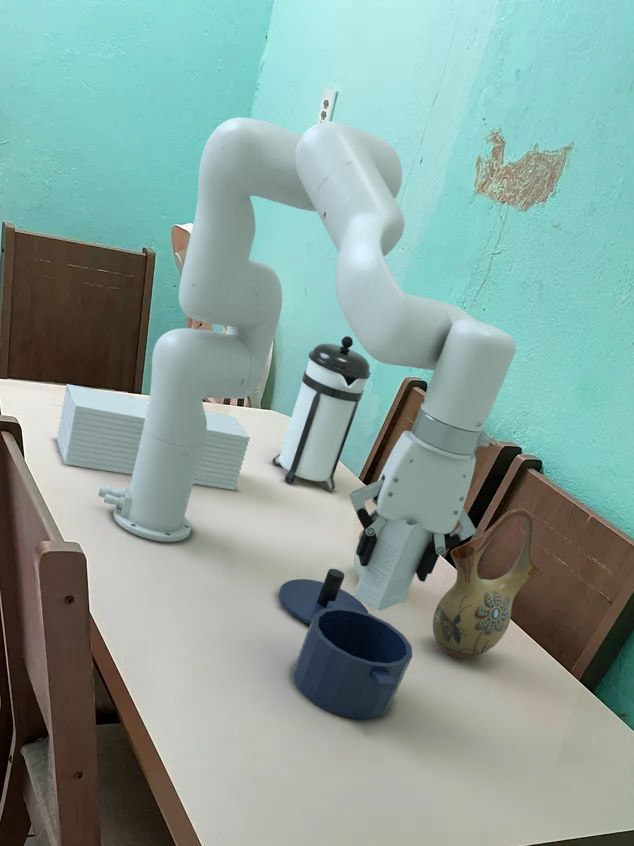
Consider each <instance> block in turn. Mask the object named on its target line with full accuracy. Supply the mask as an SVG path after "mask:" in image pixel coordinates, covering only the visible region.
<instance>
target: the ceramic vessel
mask: <svg viewBox="0 0 634 846" xmlns="http://www.w3.org/2000/svg"><path fill="white" fill-rule="evenodd" d="M517 517H519V518H523V519H524V520H525V522H526V523H525V524H526V525H525V533H524V539H523V542H522V546H521V549H520V552H519V553H518V556H517V559H516V561H515V563H514V564H513V565H512V567H511V568H510V570H509V571H507V573H505V574H504V575H502V576H500V577H498V578H495V579H486V578H485V579H483V578H480V577H479V574H478V565H479V562H480V559H481V558H482V555H483V554H484V553H485V550H487V548H488V546H489V545H490V544H491V542H492V540H493V539H494V538H495V537H496V535H497V534H498V533H499V531H500V530H501V529H502V528H503V526H505V525H506V523H507V522H509V520H511V519H513V518H517ZM534 529H535V520H534V517H533V515H532V513H531V512H530V511H528V510H525V509H524V508H515V509H511V510H509V511H507V512H505V513H503V515H501V516H500V517H499V518H498V519H497V520H496V522H494V523H493V524H492V525H491V526H490V527H489V528H488V529H486V531H484V532H482V533H481V534H480V535H478V536H477V537H475V538H473V539H471V540H470V541H468V542H466V543H463V544H462V545H460V546H455V547H454V548H453V549H451V550H450V553H449V555H450V558H451V559H452V561H453V563H454V566H455V568H456V578H455V579H456V580H455V582H454V584H453V585H452V586H451V587H450V588H449V589H448V590H447V591H446V592H445V593H444V595H443V596H442V597H441V598H440V599H439V602H438V604H437V606H436V608H435V611H434V613H433V618H432V632H433V637H434V639H435V642H436V644H437V645H438V647H439V648H440V650H442V651H443V653H445V654H447V655H449V656H451V657H454V658H456V659H465V660H466V659H472V658H475V657H478V656H481V655H483V654H485V653H486V652H488V651H490V650H491V649H493V647H495V646H496V645H497V644H498V643H499V641H501V639H502V638H503V636H505V634H506V631H507V630H508V627H509V625H510V622H511V618H512V610H513V602H514V599H515V597H516V596H517V594H518V592H519V591H520V590H521V589H522V587H523V586H524V585H525V584H527V583H528V582H530V581H532V580H533V579H535V578H536V577H538V576H541V575H542V574H544V573H545V572H544V570H543V569H542V568H541V567H540V566H539V565H537V564H536V562H534V560H533V559H532V545H533V537H534Z"/></svg>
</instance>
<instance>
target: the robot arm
mask: <svg viewBox="0 0 634 846" xmlns="http://www.w3.org/2000/svg"><path fill="white" fill-rule="evenodd" d="M402 168H403V167H402V163H401V159H400V157H399V155H398V153H397V151H396V149H395V148H394V147H393V145H392V144H390V143H389V142H388V141H387V140H386V139H383V138H381V137H379V136H377V135H375V134H371V133H370V132H367V131H364V130H361V129H359V128H356V127H353V126H352V125H350V124H346V123H343V122H339V121H333V120H331V121H328V120H327V121H322V122H319V123H316V124H314V125H312V126H310V127H309V128H308V129H307V130H306V131H304V133H303V134H300V133H297V132H295V131H292V130H290V129H287V128H285V127H283V126H279V125H277V124H274V123H271V122H269V121H265V120H261V119H258V118H253V117H252V118H251V117H234V118H230V119H227V120H225V121H223V122H222V123H221V124H219V125H218V126H217V127H216V128H215V129H214V130H213V131H212V132H211V134H210V135H209V137H208V139H207V141H206V143H205V146H204V148H203V151H202V154H201V157H200V163H199V170H198V181H197V184H198V185H197V201H196V209H195V215H194V218H193V219H194V220H193V224H192V227H191V230H190V231H191V232H190V236H189V241H188V245H187V250H186V254H185V258H184V261H183V267H182V271H181V277H180V281H179V287H178V304H179V306H180V308H181V310H182V312H183V313H184V314H185V315H186V316H187V317H189V318H190V319H192V320H194V321H198V322H201V323H207V324H211V325H219V326H224V327H226V332H218V331H213V330H205V329H197V328H188V327H187V328H186V327H184V328H183V327H182V328H175V329H171V330H169V331H167V332H165V333H163V334H162V335H161V336H160V337H159V338H158V339H157V341H156V342H155V344H154V347H153V350H152V357H151V378H150V391H149V398H148V400H149V403H148V408H147V413H146V417H145V422H144V427H143V431H142V436H141V440H140V444H139V449H138V453H137V457H136V462H135V466H134V470H133V475H132V474H131V480H130V484H128V485H127V488H122V487H121V488H120V489H118V488H115V487H112V486H108V485H106V484H100V486H99V491H98V497H101V498H104V501H103V503H104V504H109V505H115V507H114V510H113V518H114V520H115V522H116V523H117V525H119V526H120V527H121V528H123V529H124V530H126V531H127V532H129V533H131V534H133V535H135V536H138V537H141V538H143V539H147V540H151V541H156V542H164V543H173V542H181V541H183V540H185V539H187V538H188V537H189V536H190V533H191V530H192V524H191V522H190V521H189V520H188V518H187V517H186V516H185V515H186V512H187V508H188V505H189V501H190V497H191V493H192V490H193V485H194V484H193V482H194V478H195V475H196V471H197V467H198V464H199V460H200V456H201V452H202V449H203V445H204V441H205V437H206V432H207V420H206V415H205V412H204V411H205V409H204V405H203V401H204V399H210V398H213V399H229V400H230V399H231V400H232V399H233V400H237V399H244V398H247V397H249V396H250V395H252V394H253V393H254V392H255V391H256V390H257V388H258V386H259V385H260V383H261V380H262V378H263V375H264V373H265V369H266V366H267V362H268V359H269V356H270V352H271V348H272V345H273V342H274V338H275V335H276V331H277V329H278V324H279V320H280V317H281V313H282V307H283V291H282V290H283V289H282V285H281V281H280V278H279V276H278V274H277V273H276V271H275V270H274V269H273V268H272V267H271V266H270V265H267V264H266V263H264V262H261V261H258V260H254V259H250V255H251V251H252V248H253V244H254V240H255V236H256V215H255V210H254V206H253V202H252V199H251V197H258V198H261V199H265V200H269V201H271V202H274V203H278V204H281V205H285V206H289V207H292V208H295V209H300V210H303V211H307V212H308V211H309V212H316V213H317V215H318V216H319V219H320V220H321V222H322V224H323V227H324V228H325V230H326V231H327V234H328V235H329V237H330V239H331V241H332V243H333V245H334V247H335V248H336V250H337V253H338V257H337V261H336V264H335V265H336V266H335V291H336V293H335V294H336V297H337V302H338V305H339V307H340V309H341V312H342V313H343V316H344V317H345V319H346V321H347V323H348V325H349V327H350V329H351V331H352V333H353V334H354V336H355V338H356V339H357V341H358V342H359V344H360V346H361V347H362V349H364V350H365V352H366V353H368V355H369V356H370V357H371V358H373V359H374V360H376V361H377V362H379V363H382V364H385V365H391V366H400V367H408V368H415V369H422V370H428V371H433V373H432V376H431V378H430V381H429V383H428V386H427V389H426V392H425V394H424V397H423V400H422V402H421V404H420V408H419V409H418V412H417V415H416V417H415V420H414V423H413V426H412V428H411V430H404V431H402V433H401V435H400V437H398V439H397V441H396V443H395V444H394V446H393V448H392V449H391V451H390V453H389V456H388V458H387V459H386V462H385V464H384V465H383V467H382V470H381V473H380V474H379V478H378V479H377V481H374V482H372V483H369V484H367V485H365V486H362V487H360V488H358V489H355V490H353V491H351V492H350V493H349V498H350V501H351V505H352V506H353V509H354V511H355V513H356V516H357V518H358V520H359V522H360V524H361V526H362V528H363V530H364V531H363V533H362V536H361V539H360V541H359V544H358V547H357V551H356V554H357V555H359V560H360V564H361V566H364V567H365V566H367V565H368V563H369V560H370V558H371V555H372V553H373V550H374V547H375V545H376V542H377V537H376V533H377V532H378V531H379V530H380V529H381V528H382V527H383V526H384V525H385V524H386V523H387V522H388V520H389V521H396V520H397V519H398V518H401V519H405V520H408V521H412V522H416V523H419V524H422V525H423V529H424V530H426V531H429V532H433V534H432V536H431V539H430V541H429V543H428V545H427V548H426V550H425V552H424V555H423V557H422V559H421V561H420V564H419V566H418V569H417V571H416V573H415V575H416V577H417V579H418V580H419V582H423V583H425V582H426V579H427V577H428V575H431V574H432V573H433V571H434V568H435V566H436V564H437V561H438V559H439V558H440V556H441V555H444V554H445V553H446V551H447V550H449V549H451V548H453V547H456V546H458V545H459V544H460V543H461V541H465V540H466V539H468V538H470V537H471V536H474V534H476V532H477V528H476V527H475V526H474V524H473V522H472V520H471V518H470V517H469V515H468V513H467V512H466V510H465V508H464V506H465V503H466V500H467V498H468V494H469V491H470V487H471V483H472V480H473V475H474V472H475V468H476V467H475V466H476V461H477V456H476V454H475V453H476V451H477V449H478V448H485V449H487V448H488V447H489V446H490V444H491V441H492V440H491V439H492V438H491V436H489V435H486V434H485V433H484V432H485V431H484V429H485V426H486V423H487V421H488V418H489V417H490V413H491V411H492V409H493V406H494V405H495V403H496V400H497V398H498V395H499V392H500V390H501V388H502V387H503V386H502V385H503V384H504V380H505V379H506V376H507V374H508V371H509V369H510V366H511V364H512V362H513V360H514V356H515V354H516V349H517V343H516V340H515V338H514V337H513V336H512V335H511V334H509V333H508V332H507V331H504V330H502V329H500V328H499V327H496V326H493V325H490V324H488V323H485V322H482V321H479V320H477V319H475V318H474V317H472V316H471V315H470V314H468V313H467V312H466V311H465V310H463V309H461V308H460V307H458V306H457V305H455V304H452V303H449V302H446V301H441V300H437V299H433V298H429V297H426V296H425V297H424V296H419V295H415V294H410V293H405V292H404V291H403V289H402V288H401V286H400V285H399V283H398V281H397V279H396V278H395V275H394V274H393V272H392V271H391V269H390V267H389V265H388V263H387V261H386V258H385V257H386V256H387V255H388V254H389V253H391V251H392V250H393V249H394V248H396V246H397V244H398V243H399V242H400V240H401V239H402V236H403V234H404V231H405V224H406V223H405V217H404V214H403V211H402V210H401V207H400V206H399V205H398V203H397V201H396V199H397V197H398V195H399V192H400V189H401V187H402V179H403V169H402ZM368 500H371V501H372V502H373V503H374V505H376V508H375V509H374V510H372V511H371V513H369V512H368V510H367V507H366V505H365V502H366V501H368ZM458 522H459V523H460V525H459V526H458V527H457V528H456V526H457V524H458ZM455 528H456V529H455Z"/></svg>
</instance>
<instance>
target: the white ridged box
mask: <svg viewBox="0 0 634 846" xmlns="http://www.w3.org/2000/svg"><path fill="white" fill-rule="evenodd" d="M65 389H66V390H65V393H64V398H63V405H62V410H61V414H60V422H59V427H58V431H57V437H56V442H57V445H58V448H59V451H60V454H61V457H62V460H63V463H64V465H67V466H75V467H81V468H88V469H92V470H93V469H95V470H101V471H108V472H114V473H121V474H127V475H131V476H132V475H133V470H134V466H135V462H136V457H137V453H138V449H139V444H140V440H141V436H142V431H143V427H144V422H145V417H146V413H147V408H148V403H149V399H147V398H141V397H136V396H131V395H125V394H121V393H116V392H112V391H111V392H110V391H105V390H101V389H100V390H99V389H96V388H90V387H86V386H85V387H84V386H79V385H74V384H69V383H66V387H65ZM204 412H205V415H206V420H207V432H206V437H205V441H204V445H203V449H202V452H201V456H200V460H199V464H198V467H197V471H196V475H195V478H194V482H193V485H199V486H207V487H211V488H217V489H218V488H219V489H226V490H232V491H235V490H236V488H237V487H236V486H237V484H238V480H239V476H240V473H241V470H242V466H243V464H244V463H243V462H244V460H245V457H246V452H247V449H248V446H249V442H250V439H251V436H249V434H248V433H247V432H246V430H245V429H244V428H243V426H242V425H241V424H240V423H239V422H238V420H237V419H236V417H235V416H234V415H229V414H225V413H224V414H223V413H219V412H214V411H208V410H204Z"/></svg>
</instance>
